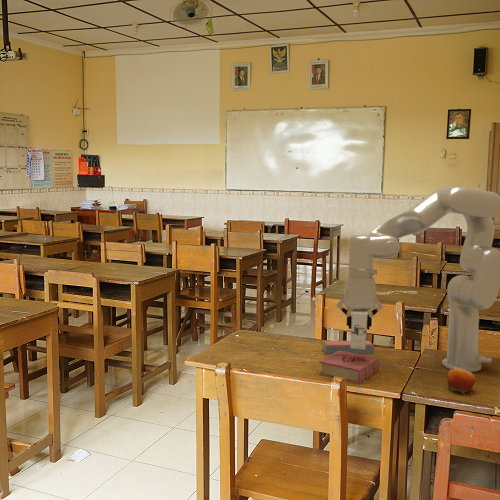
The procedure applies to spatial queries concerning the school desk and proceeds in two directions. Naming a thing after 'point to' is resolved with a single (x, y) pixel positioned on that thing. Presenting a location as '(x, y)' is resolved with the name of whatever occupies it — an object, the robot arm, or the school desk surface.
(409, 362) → the school desk surface
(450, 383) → the fruit
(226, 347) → the school desk surface
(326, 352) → the pencil case
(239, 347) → the school desk surface
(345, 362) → the book
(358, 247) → the robot arm
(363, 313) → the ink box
